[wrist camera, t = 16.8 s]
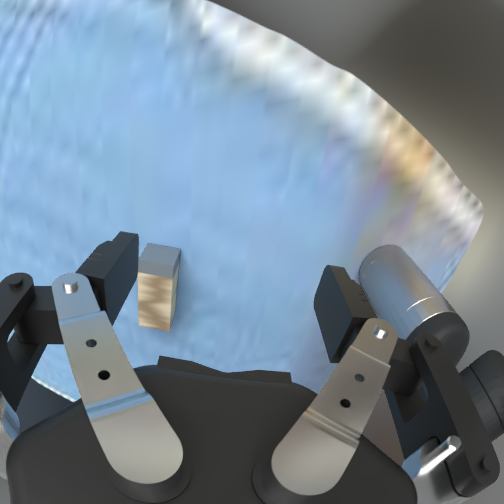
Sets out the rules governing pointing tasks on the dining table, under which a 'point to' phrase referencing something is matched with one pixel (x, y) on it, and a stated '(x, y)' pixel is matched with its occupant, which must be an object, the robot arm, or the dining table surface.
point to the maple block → (157, 286)
